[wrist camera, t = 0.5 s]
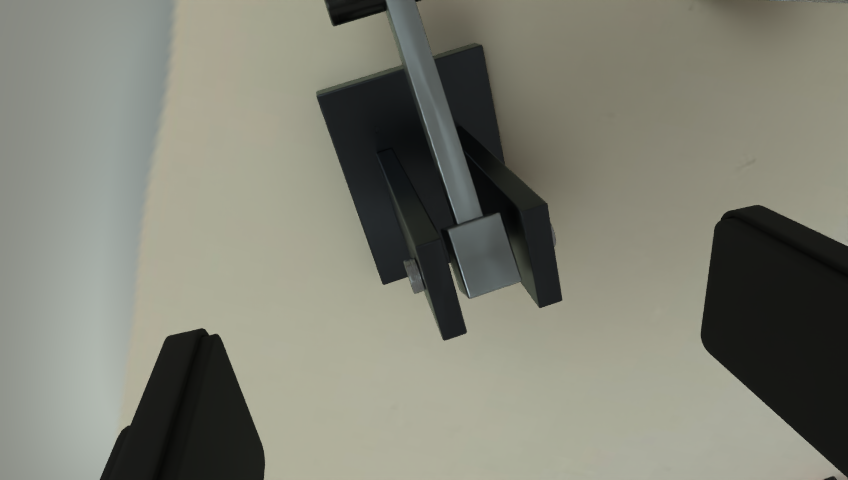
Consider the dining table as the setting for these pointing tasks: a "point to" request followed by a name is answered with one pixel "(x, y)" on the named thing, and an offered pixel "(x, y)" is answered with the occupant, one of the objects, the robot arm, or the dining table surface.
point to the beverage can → (832, 0)
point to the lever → (443, 153)
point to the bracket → (433, 181)
